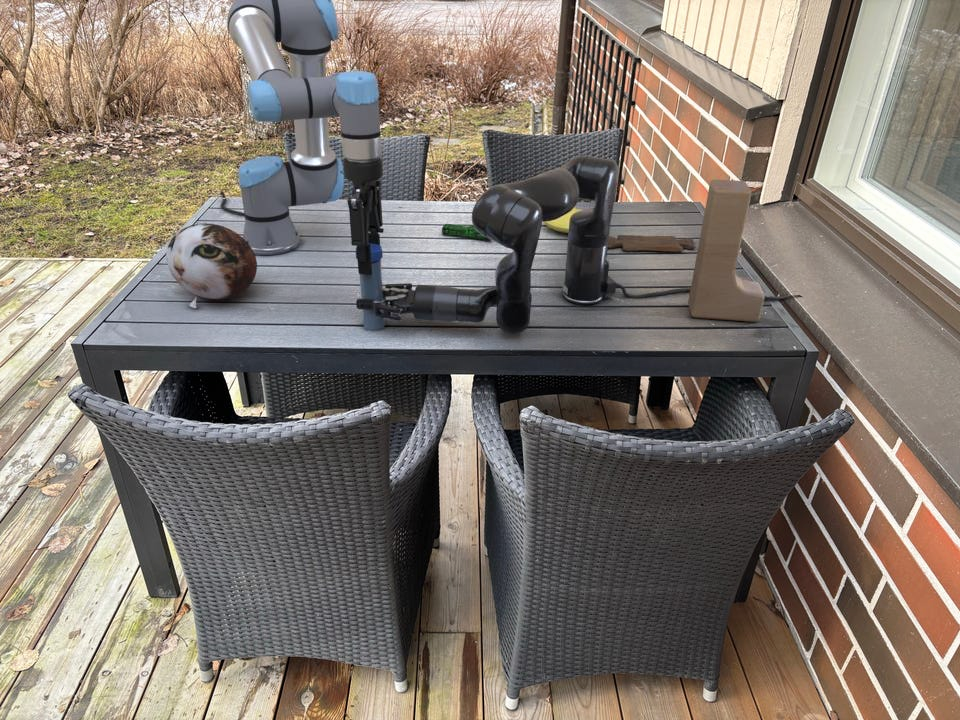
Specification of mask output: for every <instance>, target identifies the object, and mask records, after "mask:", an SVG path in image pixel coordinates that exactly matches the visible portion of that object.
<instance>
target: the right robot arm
mask: <svg viewBox="0 0 960 720" xmlns="http://www.w3.org/2000/svg"><path fill="white" fill-rule="evenodd" d="M618 180H619V166H618V164H617V162H616V161H615V160H613V159H609V158H603V157H595V156H589V155H578V156H574V157H573V158H571V159H570V160H568V161H567V162H565V163H564V164H563V165H561V166H558V167H556V168H553V169H549V170H547V171H544V172H541V173H539V174H537V175H535V176H532V177H529V178H526V179H523V180H519V181H514V182H507V183H500V184H495V185H493V186H491V187H489V188H488V189H487V190H485V191H484V192H482V194H481V195H480V196H479V198H477V200H476V202H475V204H474V206H473V208H472V210H471V211H472V212H471V222H472V225H473V226H474V228H475V229H476V230H477V231H478V232H479V233H480V234H482V235H483V236H485V237H486V238H489V239H490V240H491V241H492V242H495V243H497V244H498V245H500V246H502V247H505V248H506V249H510V250H512V252H510V253H508V254H506V255H505V256H503V257H502V258H501V259H500V261H498V263H497V266H496V268H495V271H494V272H495V273H494V281H495V286H491V287H486V288H485V287H484V288H479V289H475V288H474V289H472V288H471V289H470V288H459V287H453V286H446V285H445V286H443V285H430V284H429V285H427V284H417V285H416V286H415V289H413V283H411V282H407V283H387V284H385V285H384V286H383V299H379V300H374V299H361V298H357V299H356V300H355V305H356V309H357V310H362V309H363V310H374V312H375V316H377V317H382V318H385V319H387V320H391V321H392V320H393V321H401V319H402V318H401V316H402V315H406V314H407V315H408V314H412V315H413V318H414V319H415V320H417V321H429V322H430V321H433V322H445V323H448V322H461V323H462V322H463V323H482V322H483V321H484V320H485V318H486V316H487V313H488V311H489V309H491V308H492V307H495V306H496V310H495V311H496V312H495V313H496V314H495V315H496V316H495V321H496V325H497V327H498V328H499V329H500V330H502V331H503V332H504V333H506V334H509V335H517V334H520V333H522V332H524V331H525V330H526V329H528V327H529V325H530V320H531V309H532V298H533V295H532V291H531V289H532V286H531V285H532V274H531V273H532V268H533V267H532V266H533V264H534V260H535V257H536V256H535V255H536V252H537V249H538V243H539V240H540V235H541V231H542V228H543V227H542V225H543V222H544V221H552V220H555V219H558V218H560V217H562V216H564V215H565V214H567V213H569V212H570V211H571V210H572V209H573V208H574V207H575V208H576V206H577V204H578V202H579V199H580V200H586V201H592V202H595V203H594V207H592V208H588V209H581V210H582V211H578V212H576V213H574V214H572V215H571V217H570V221H569V233H567V245H566V246H567V248H566V259H565V274H564V281H563V282H562V290H563V291H562V297H563V299H564V300H565V301H567V302H569V303H571V304H574V305H579V306H592V305H597V304H598V303H600V302H601V301H604V300H606V296H607V295H611V294H616V292H617V291H616V290H617V288H618V289H620V290H621V291H622V294H623V296H624V297H627V298H629V299H646V298H650V297H657V296H665V295H671V294H675V293H688V292H689V293H690V290H691V287H683V288H674V289H668V290H663V291H655V292H649V293H644V294H638V295H635V294H630V293H628V292H627V289H626V288H625V287H624V285H622V284H621V283H617V282H616V280H614V279H613V278H612V277H611V276H610V275H609V271H610V262H609V261H608V260H607V258H608V257H607V256H608V249H609V248H608V240H609V236H610V229H611V223H612V218H613V211H614V204H615V197H616V191H617V186H618ZM544 223H545V222H544ZM787 294H788V293H785V294H783V295H779V296H771V295H769V296H770V297H767V296H768V295H764V297H765V298H764V300H765V301H766V300H767V301H781V300H785V299H787V298H790V296H788V295H787ZM382 304H384V305H382ZM381 312H384V313H381Z"/></svg>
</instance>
